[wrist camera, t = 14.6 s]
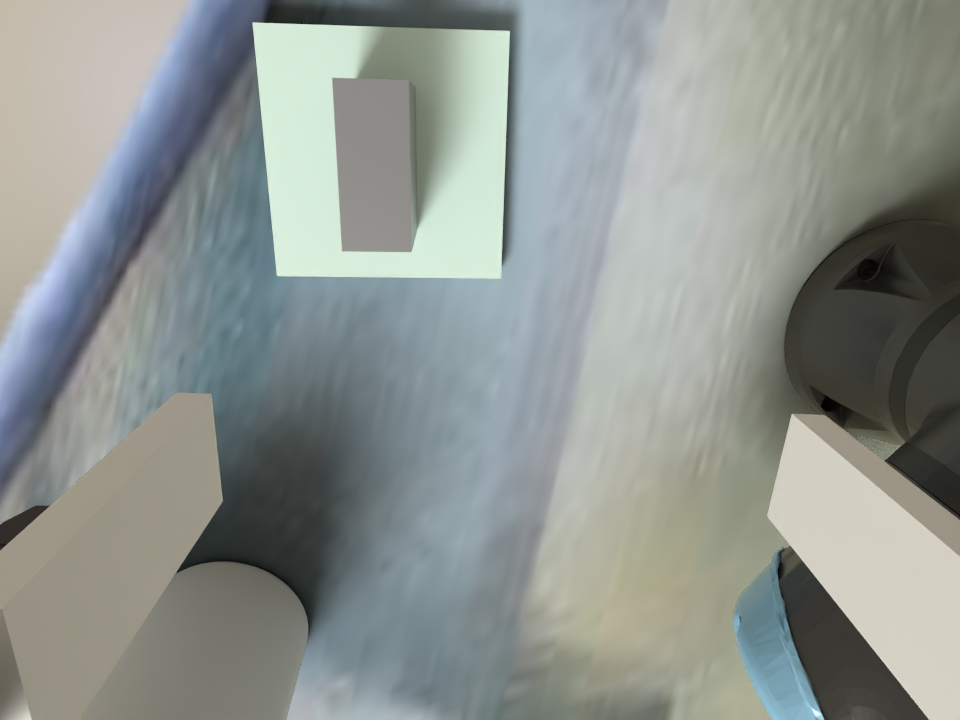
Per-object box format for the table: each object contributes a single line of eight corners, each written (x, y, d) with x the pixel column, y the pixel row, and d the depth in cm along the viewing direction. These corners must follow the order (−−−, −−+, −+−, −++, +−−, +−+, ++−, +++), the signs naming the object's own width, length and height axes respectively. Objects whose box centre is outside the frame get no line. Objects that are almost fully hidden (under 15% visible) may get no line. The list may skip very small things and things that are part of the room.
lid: (506, 35, 36) (524, 10, 28) (498, 271, 41) (512, 309, 33) (262, 27, 36) (206, -1, 27) (284, 268, 41) (242, 307, 32)
